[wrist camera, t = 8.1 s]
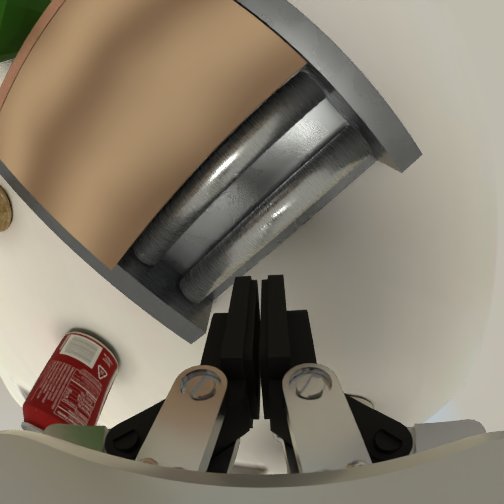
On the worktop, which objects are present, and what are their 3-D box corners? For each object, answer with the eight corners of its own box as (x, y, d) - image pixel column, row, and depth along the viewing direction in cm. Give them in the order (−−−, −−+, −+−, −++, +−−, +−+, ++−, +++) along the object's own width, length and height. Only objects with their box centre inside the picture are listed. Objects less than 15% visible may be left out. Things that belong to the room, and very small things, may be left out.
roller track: (391, 143, 16) (432, 158, 11) (200, 307, 22) (188, 354, 18) (165, -52, 9) (140, -86, 5) (18, 142, 16) (-26, 157, 11)
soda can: (69, 316, 24) (10, 410, 13) (127, 350, 25) (85, 455, 15) (63, 350, 26) (19, 432, 16) (113, 380, 28) (80, 467, 17)
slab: (299, 70, 12) (307, 62, 10) (127, 250, 17) (111, 270, 15) (139, -44, 8) (123, -60, 6) (12, 136, 13) (-12, 144, 11)
